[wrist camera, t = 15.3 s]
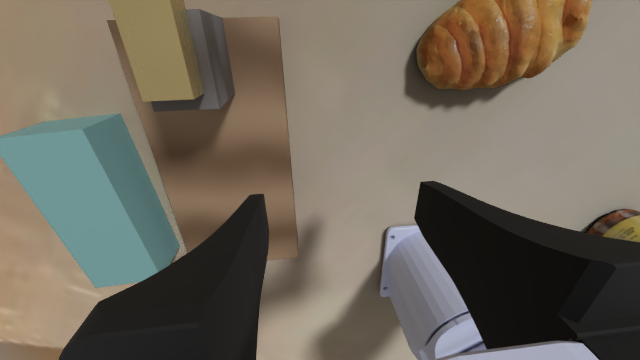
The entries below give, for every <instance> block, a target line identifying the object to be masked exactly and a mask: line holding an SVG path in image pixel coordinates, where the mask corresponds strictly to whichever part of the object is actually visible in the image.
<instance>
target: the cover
mask: <svg viewBox="0 0 640 360" xmlns="http://www.w3.org/2000/svg"><path fill="white" fill-rule="evenodd" d="M0 156H1V157H2V159H3V160H4V162H5V163H6V164H7V166H8V167H9V169H10V170H11V171H12V173H13V174H14V176H15V177H16V178H17V180H18V181H19V182H20V184H21V185H22V187H23V188H24V189H25V191H26V192H27V194H28V195H29V196H30V198H31V199H32V200H33V202H34V203H35V205H36V206H37V207H38V209H39V210H40V212H41V213H42V214H43V216H44V217H45V218H46V220H47V221H48V223H49V224H50V225H51V227H52V228H53V230H54V231H55V232H56V234H57V235H58V237H59V238H60V239H61V241H62V242H63V243H64V245H65V246H66V248H67V249H68V250H69V252H70V253H71V255H72V256H73V257H74V259H75V260H76V261H77V263H78V264H79V266H80V267H81V268H82V270H83V271H84V273H85V274H86V275H87V277H88V278H89V279H90V281H91V282H92V284H93V285H94V286H95V288H99V287H106V286H114V285H121V284H128V283H135V282H141V281H143V280H145V279H147V278H148V277H150V276H152V275H154V274H156V273H157V272H159V271H161V270H162V269H164V268H166V267H168V266H169V265H170V263H171V261H172V259H173V258H174V256H175V254H176V252H177V250H178V248H179V247H180V245H179V243H178V241H177V238H176V236H175V234H174V232H173V229H172V227H171V225H170V223H169V221H168V218H167V216H166V214H165V212H164V209H163V207H162V205H161V203H160V200H159V198H158V196H157V194H156V192H155V189H154V187H153V185H152V183H151V180H150V178H149V176H148V174H147V172H146V169H145V167H144V165H143V163H142V160H141V158H140V156H139V154H138V151H137V149H136V147H135V145H134V143H133V140H132V138H131V136H130V134H129V131H128V129H127V127H126V125H125V123H124V120H123V118H122V116H121V114H111V115H101V116H92V117H83V118H74V119H65V120H56V121H47V122H42V123H39V124H36V125H33V126H30V127H27V128H23V129H20V130H17V131H14V132H11V133H8V134H5V135H2V136H0Z"/></svg>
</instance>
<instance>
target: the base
mask: <svg viewBox="0 0 640 360" xmlns="http://www.w3.org/2000/svg"><path fill="white" fill-rule="evenodd" d="M186 13H187V17H188V22H189V26H190V31H191V35H192V39H193V44H194V48H195V53H196V57H197V62H198V66H199V71H200V75H201V80H202V84H203V89H204V94H202V95H200V96H199V97H197V98H195V99H190V100H168V101H146V102H143V100H142V97H141V94H140V91H139V88H138V86H137V83H136V80H135V77H134V74H133V71H132V68H131V65H130V62H129V59H128V56H127V53H126V50H125V47H124V44H123V41H122V38H121V35H120V32H119V29H118V26H117V23H116V20H107V23H108V26H109V28H110V31H111V34H112V37H113V40H114V43H115V46H116V49H117V51H118V54H119V57H120V60H121V63H122V66H123V69H124V71H125V74H126V77H127V80H128V83H129V86H130V89H131V92H132V94H133V97H134V100H135V103H136V106H137V109H138V112H139V114H140V117H141V120H142V123H143V126H144V129H145V132H146V135H147V137H148V140H149V143H150V146H151V149H152V152H153V155H154V157H155V160H156V163H157V166H158V169H159V172H160V175H161V178H162V180H163V183H164V186H165V189H166V192H167V195H168V198H169V200H170V203H171V206H172V209H173V212H174V215H175V218H176V221H177V223H178V226H179V229H180V232H181V235H182V238H183V241H184V243H185V246H186V249H187V252H188V253H189V252H190V251H192V250H193V249H194V248H196V247H197V246H198V245H200V244H201V243H202V242H203V241H205V240H206V239H207V238H208V237H209V236H211V235H212V234H213V233H214V232H215V231H216V230H217V229H218V228H219V227H220V226H221V225H222V224H223V223H224V222H226V221H227V219H228V218H229V217H230V216H231V215H232V214H233V213H234V212H235V211H236V210H237V209H238V207H239V206H240V205H241V204H242V203H243V202H244V201H245V199H246V198H247V197H248V196H249V195H252V194H264V198H265V205H266V212H267V218H268V225H269V249H268V256H267V260H274V259H285V258H295V257H298V239H297V227H296V215H295V204H294V192H293V180H292V168H291V157H290V145H289V133H288V121H287V110H286V98H285V86H284V74H283V63H282V51H281V39H280V27H279V19H278V17H243V18H221V17H219V16H216V15H213V14H211V13H208V12H205V11H202V10H200V9H192V10H186Z"/></svg>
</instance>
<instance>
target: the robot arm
mask: <svg viewBox="0 0 640 360" xmlns="http://www.w3.org/2000/svg"><path fill="white" fill-rule="evenodd" d="M414 218H415V221H416V223H417V225H410V226H398V227H390V228H388V230H387V232H386V240H385V249H384V257H383V266H382V274H381V283H380V291H379V293H380V296H381V297H390V299H391V302H392V304H393V307H394V309H395V312H396V314H397V317H398V319H399V322H400V325H401V327H402V330H403V332H404V335H405V337H406V340H407V342H408V345H409V347H410V349H411V351H412V352H413V354H414V355H415V357H416V358H417V359H418V360H640V242H635V241H628V240H622V239H615V238H609V237H604V236H599V235H594V234H589V233H584V232H579V231H575V230H570V229H566V228H562V227H558V226H554V225H550V224H547V223H543V222H539V221H536V220H532V219H529V218H526V217H523V216H520V215H517V214H514V213H511V212H508V211H505V210H503V209H500V208H498V207H495V206H492V205H490V204H487V203H485V202H483V201H480V200H478V199H476V198H473V197H471V196H469V195H466V194H464V193H462V192H460V191H457V190H455V189H453V188H451V187H448V186H446V185H443V184H441V183H438V182H435V181H427V182H421V183H420V189H419V194H418V200H417V206H416V211H415V217H414ZM392 235H393V236H392ZM390 236H392V237H390ZM268 249H269V225H268V218H267V212H266V205H265V198H264V194H252V195H249V196H248V197H247V198H246V199H245V201H244V202H243V203H242V204H241V205H240V206H239V207H238V209H237V210H236V211H235V212H234V213H233V214H232V215H231V216H230V217H229V218H228V219H227V221H226V222H224V223H223V224H222V225H221V226H220V227H219V228H218V229H217V230H216V231H215V232H214V233H213V234H212V235H211V236H209V237H208V238H207V239H206V240H205V241H203V242H202V243H201V244H200V245H198V246H197V247H196V248H194V249H193V250H192V251H190V252H189V253H187V254H186V255H184V256H183V257H181V258H180V259H178V260H177V261H175V262H174V263H172V264H171V265H169V266H168V267H166V268H164V269H162V270H161V271H159V272H157V273H156V274H154V275H152V276H150V277H148V278H147V279H145V280H143V281H141V282H139V283H137V284H135V285H133V286H131V287H129V288H127V289H125V290H123V291H121V292H119V293H117V294H115V295H113V296H110V297H108V298H106V299H104V300H102V301H100V302H98V303H97V305H96V306H95V307H94V309H93V310H92V311H91V313H90V314H89V315H88V317H87V318H86V319H85V321H84V322H83V323H82V325H81V326H80V327H79V329H78V330H77V332H76V333H75V334H74V336H73V337H72V338H71V340H70V341H69V342H68V344H67V345H66V346H65V348H64V349H63V351H62V353H61V355H60V357H59V360H256V350H257V333H258V318H259V304H260V297H261V290H262V285H263V279H264V273H265V268H266V262H267V256H268Z"/></svg>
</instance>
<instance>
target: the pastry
mask: <svg viewBox="0 0 640 360" xmlns="http://www.w3.org/2000/svg"><path fill="white" fill-rule="evenodd" d="M590 7H591V0H461V1H459V2H458V3H457V4H455V5H454V6H453V7H452V8H450V9H449V10H447V11H446V12H445V13H444V14H442V15H441V16H440V17H439V18H437V19H436V20H435V21H434V22H433V23H432V24H431V25H430V27H429V28H428V30H427V31H426V32H425V33H424V35H423V36H422V37H421V39H420V41H419V43H418V46H417V50H416V53H417V63H418V66H419V69H420V70H421V72H422V73H423V75H424V77H425V79H426V80H427V81H428V82H430V83H431V84H433V85H434V86H435V87H436V88H438V89H451V88H454V89H460V90H468V89H472V88H485V87H488V88H496V87H500V86H503V85H505V84H507V83H509V82H511V81H513V80H516V79H518V78H519V77H524V78H532V77H534V76H536V75H538V74H540V73H541V72H542V71H544V70H545V69H546V68H547V67H549V66H550V64H551V63H552V62H554V61H555V60H557V59H558V58H559V57H561V56H562V55H563V54H564V53H565V52H567V51H568V50H570V49H571V48H573V47H575V46H576V45H577V43H578V42H579V40H580V39H581V38H582V36H583V34H584V32H585V28H586V26H587V24H588V18H589V13H590Z"/></svg>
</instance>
